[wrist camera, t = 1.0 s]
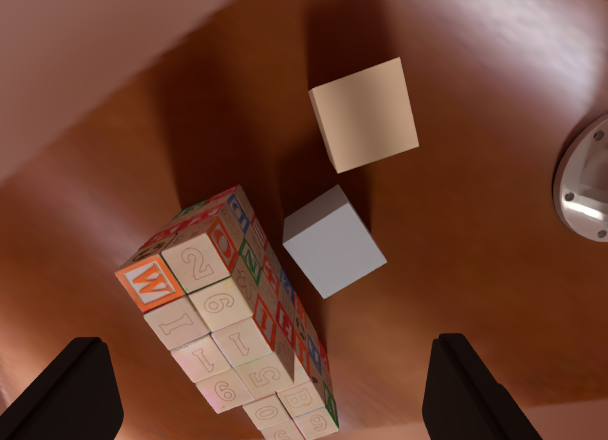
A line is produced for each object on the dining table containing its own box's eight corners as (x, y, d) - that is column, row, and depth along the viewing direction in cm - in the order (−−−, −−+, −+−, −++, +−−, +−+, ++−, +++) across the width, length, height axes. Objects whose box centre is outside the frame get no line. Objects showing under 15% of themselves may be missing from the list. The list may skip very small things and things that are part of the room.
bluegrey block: (338, 183, 30) (348, 202, 25) (370, 233, 32) (387, 262, 26) (284, 218, 31) (282, 244, 26) (318, 265, 33) (324, 299, 27)
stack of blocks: (329, 354, 37) (345, 469, 25) (278, 373, 38) (271, 494, 26) (239, 181, 30) (205, 231, 18) (179, 209, 31) (109, 273, 19)
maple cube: (377, 66, 27) (399, 56, 22) (394, 137, 29) (418, 146, 23) (308, 91, 28) (311, 88, 22) (329, 160, 30) (337, 173, 24)
